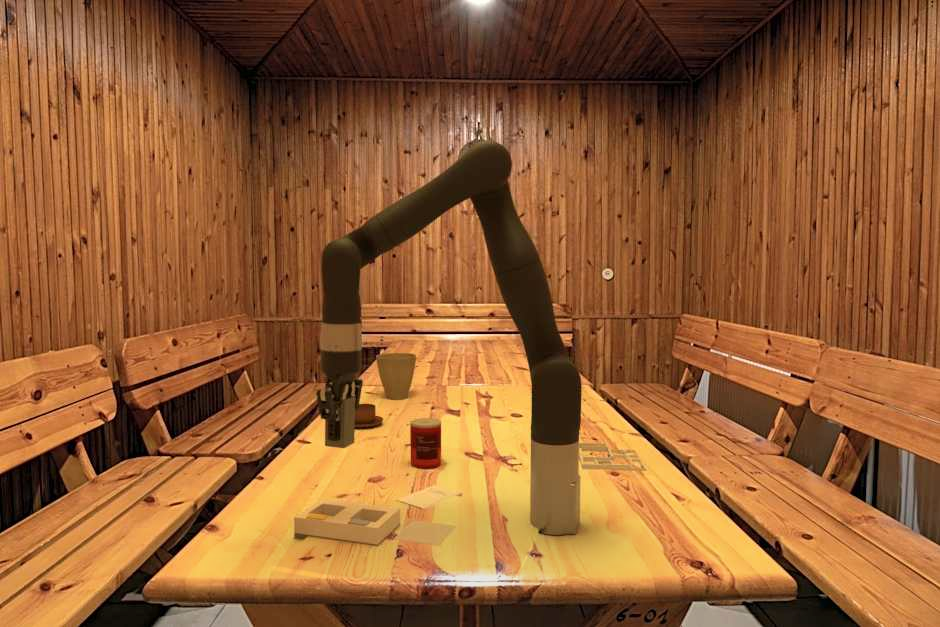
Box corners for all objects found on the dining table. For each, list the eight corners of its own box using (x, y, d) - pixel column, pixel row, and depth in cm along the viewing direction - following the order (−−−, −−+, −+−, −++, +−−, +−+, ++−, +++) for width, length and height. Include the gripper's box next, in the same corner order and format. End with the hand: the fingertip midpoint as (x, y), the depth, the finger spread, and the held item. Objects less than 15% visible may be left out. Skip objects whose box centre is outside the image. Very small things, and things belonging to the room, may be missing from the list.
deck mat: (456, 530, 127) (456, 526, 127) (439, 549, 119) (439, 545, 119) (412, 524, 130) (412, 520, 130) (393, 543, 121) (393, 538, 121)
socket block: (400, 528, 128) (400, 506, 128) (377, 550, 118) (377, 526, 118) (322, 518, 133) (321, 497, 133) (294, 538, 124) (294, 515, 123)
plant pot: (382, 393, 257) (382, 352, 256) (420, 394, 255) (420, 353, 254) (371, 401, 242) (371, 358, 241) (411, 402, 240) (411, 358, 239)
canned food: (427, 457, 174) (426, 416, 173) (447, 464, 168) (447, 421, 167) (404, 464, 168) (403, 421, 167) (424, 471, 163) (424, 427, 162)
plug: (354, 442, 126) (355, 396, 126) (344, 448, 123) (344, 400, 122) (335, 440, 128) (336, 394, 127) (324, 445, 124) (325, 398, 123)
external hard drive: (395, 506, 141) (434, 490, 151) (423, 516, 136) (462, 498, 145) (394, 499, 141) (434, 483, 150) (423, 508, 136) (462, 491, 145)
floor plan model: (542, 448, 183) (542, 441, 183) (634, 451, 181) (634, 444, 181) (543, 470, 165) (543, 462, 165) (646, 473, 163) (646, 465, 163)
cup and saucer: (357, 432, 199) (357, 412, 199) (337, 425, 208) (336, 405, 208) (390, 426, 207) (390, 406, 207) (369, 419, 216) (369, 400, 216)
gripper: (340, 353, 116) (339, 449, 117) (376, 343, 129) (374, 430, 131) (302, 350, 118) (302, 445, 119) (341, 341, 131) (340, 426, 133)
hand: (340, 436), depth 125 cm, fingers closed on plug, 4 cm apart
